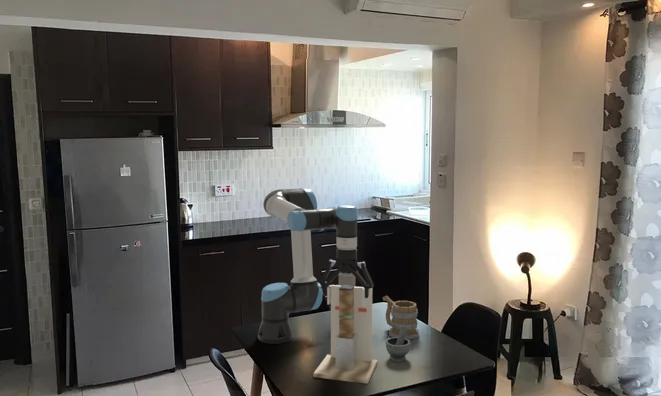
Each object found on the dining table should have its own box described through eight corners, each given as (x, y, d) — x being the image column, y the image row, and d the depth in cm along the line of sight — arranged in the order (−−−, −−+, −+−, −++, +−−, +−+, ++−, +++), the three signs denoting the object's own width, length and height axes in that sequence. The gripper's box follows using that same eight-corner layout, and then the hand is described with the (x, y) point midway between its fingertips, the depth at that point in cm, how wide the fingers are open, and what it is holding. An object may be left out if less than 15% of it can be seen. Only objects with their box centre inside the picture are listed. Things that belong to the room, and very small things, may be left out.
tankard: (424, 336, 240) (425, 302, 238) (402, 342, 233) (403, 307, 231) (394, 323, 256) (394, 292, 255) (373, 328, 249) (373, 296, 248)
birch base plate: (313, 376, 198) (313, 373, 198) (327, 358, 215) (327, 354, 215) (367, 383, 193) (367, 379, 193) (377, 363, 210) (377, 360, 210)
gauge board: (330, 357, 212) (330, 286, 209) (331, 355, 214) (331, 284, 211) (370, 362, 208) (371, 289, 205) (371, 360, 210) (372, 287, 207)
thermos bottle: (358, 318, 263) (358, 261, 260) (350, 323, 256) (350, 265, 253) (344, 316, 267) (344, 259, 264) (335, 320, 260) (335, 263, 257)
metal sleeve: (335, 368, 202) (335, 337, 200) (340, 361, 208) (340, 331, 207) (352, 370, 200) (353, 339, 199) (356, 363, 206) (357, 333, 205)
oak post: (338, 351, 202) (338, 287, 199) (342, 346, 206) (342, 284, 204) (350, 352, 200) (351, 288, 198) (353, 348, 205) (354, 285, 202)
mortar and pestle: (402, 365, 208) (402, 335, 207) (381, 359, 214) (381, 330, 213) (415, 356, 218) (416, 326, 216) (395, 350, 223) (395, 322, 222)
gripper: (311, 248, 199) (311, 305, 201) (378, 251, 192) (377, 310, 195) (317, 244, 206) (317, 299, 208) (382, 247, 199) (381, 304, 202)
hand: (346, 305), depth 201 cm, fingers open, 13 cm apart
